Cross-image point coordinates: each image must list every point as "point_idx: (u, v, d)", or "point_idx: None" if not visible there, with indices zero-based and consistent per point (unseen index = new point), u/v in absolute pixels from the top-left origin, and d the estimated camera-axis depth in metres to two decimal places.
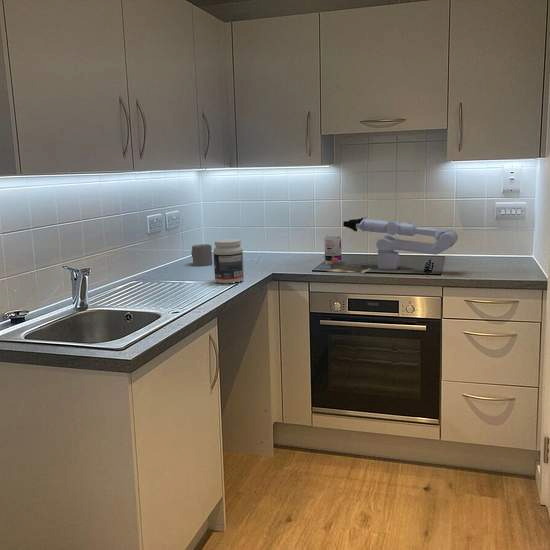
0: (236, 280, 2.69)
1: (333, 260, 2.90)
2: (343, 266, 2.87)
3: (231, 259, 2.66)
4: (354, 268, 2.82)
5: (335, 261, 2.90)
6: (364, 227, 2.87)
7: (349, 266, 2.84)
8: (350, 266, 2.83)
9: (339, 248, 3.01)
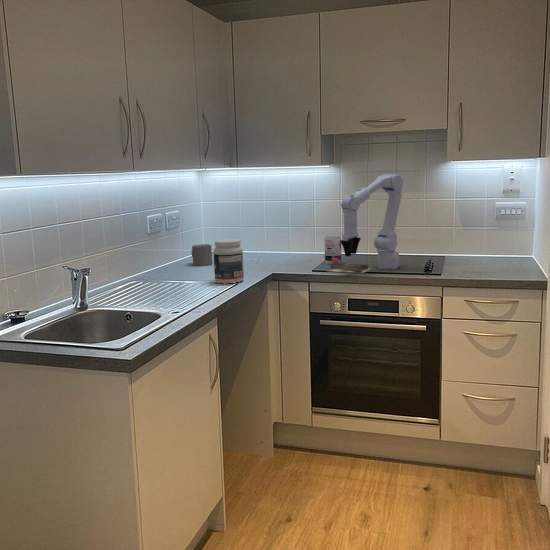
0: (236, 280, 2.69)
1: (333, 260, 2.90)
2: (343, 266, 2.87)
3: (231, 259, 2.66)
4: (354, 268, 2.82)
5: (335, 261, 2.90)
6: (350, 233, 2.72)
7: (349, 266, 2.84)
8: (350, 266, 2.83)
9: (339, 248, 3.01)
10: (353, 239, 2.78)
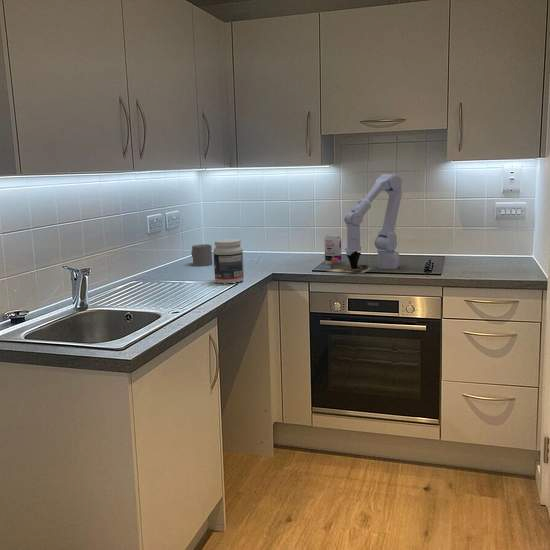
0: (236, 280, 2.69)
1: (333, 260, 2.90)
2: (343, 266, 2.87)
3: (231, 259, 2.66)
4: None
5: (335, 261, 2.90)
6: (353, 247, 2.76)
7: (349, 266, 2.84)
8: (350, 266, 2.83)
9: (339, 248, 3.01)
10: None
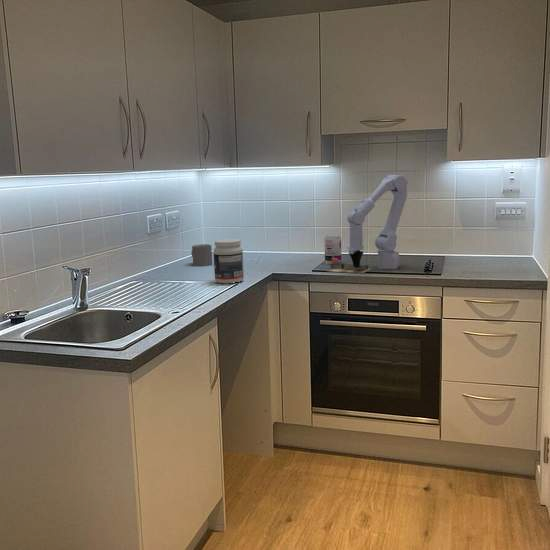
0: (236, 280, 2.69)
1: (333, 260, 2.90)
2: (345, 266, 2.87)
3: (231, 259, 2.66)
4: (359, 267, 2.84)
5: (335, 261, 2.90)
6: (356, 246, 2.79)
7: (352, 265, 2.85)
8: None
9: (339, 248, 3.01)
10: None
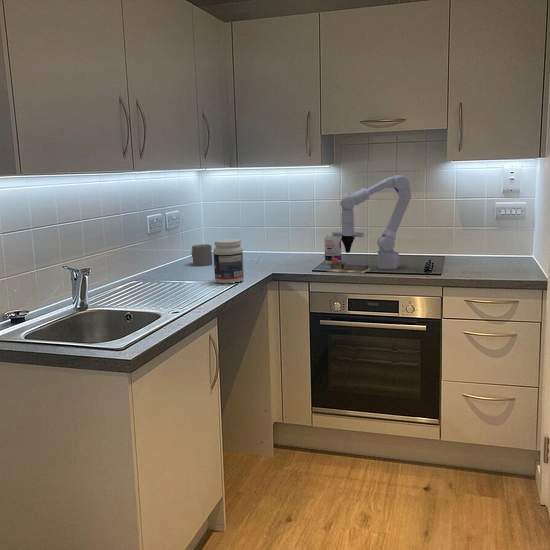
0: (236, 280, 2.69)
1: (333, 260, 2.90)
2: (345, 266, 2.87)
3: (231, 259, 2.66)
4: (359, 267, 2.84)
5: (335, 261, 2.90)
6: None
7: (352, 265, 2.85)
8: (354, 265, 2.85)
9: (339, 248, 3.01)
10: None
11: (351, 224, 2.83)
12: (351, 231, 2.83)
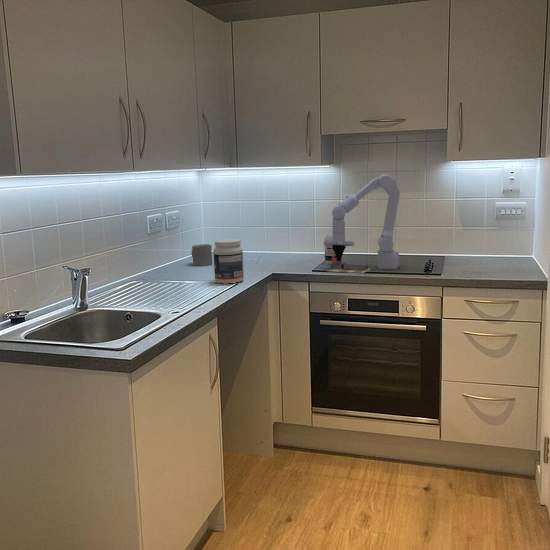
0: (236, 280, 2.69)
1: (333, 260, 2.90)
2: (345, 266, 2.87)
3: (231, 259, 2.66)
4: (359, 267, 2.84)
5: (335, 261, 2.90)
6: None
7: (352, 265, 2.85)
8: (354, 265, 2.85)
9: None
10: None
11: (342, 233, 2.85)
12: (342, 240, 2.86)
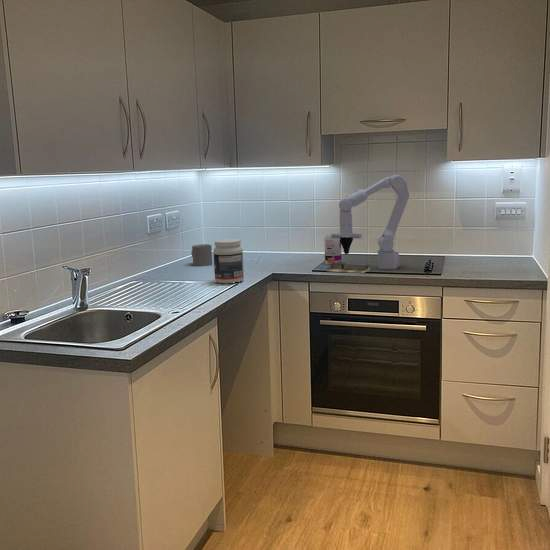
0: (236, 280, 2.69)
1: (329, 260, 2.91)
2: (345, 266, 2.87)
3: (231, 259, 2.66)
4: (359, 267, 2.84)
5: (331, 261, 2.91)
6: (340, 232, 2.88)
7: (352, 265, 2.85)
8: (354, 265, 2.85)
9: (339, 248, 3.01)
10: None
11: (349, 226, 2.84)
12: (349, 233, 2.85)
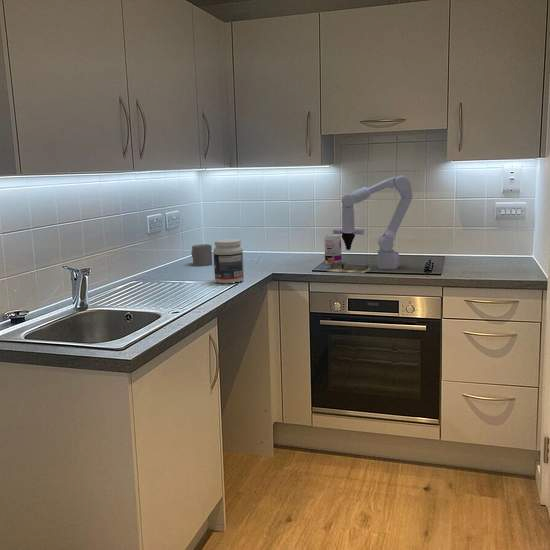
0: (236, 280, 2.69)
1: (329, 260, 2.91)
2: (345, 266, 2.87)
3: (231, 259, 2.66)
4: (359, 267, 2.84)
5: (331, 261, 2.91)
6: (342, 228, 2.88)
7: (352, 265, 2.85)
8: (354, 265, 2.85)
9: (339, 248, 3.01)
10: None
11: (351, 221, 2.84)
12: (351, 228, 2.85)
